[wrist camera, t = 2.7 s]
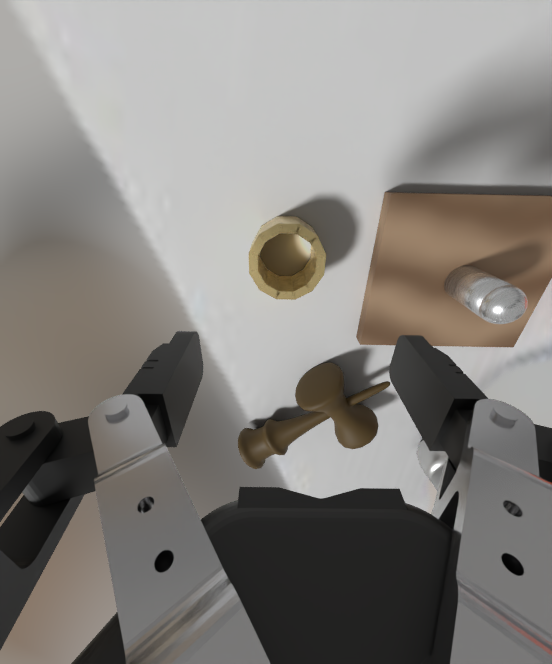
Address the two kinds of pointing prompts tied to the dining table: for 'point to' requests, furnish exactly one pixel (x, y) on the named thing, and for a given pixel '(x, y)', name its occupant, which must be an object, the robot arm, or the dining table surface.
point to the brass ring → (298, 282)
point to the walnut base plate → (453, 264)
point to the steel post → (486, 295)
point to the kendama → (315, 416)
